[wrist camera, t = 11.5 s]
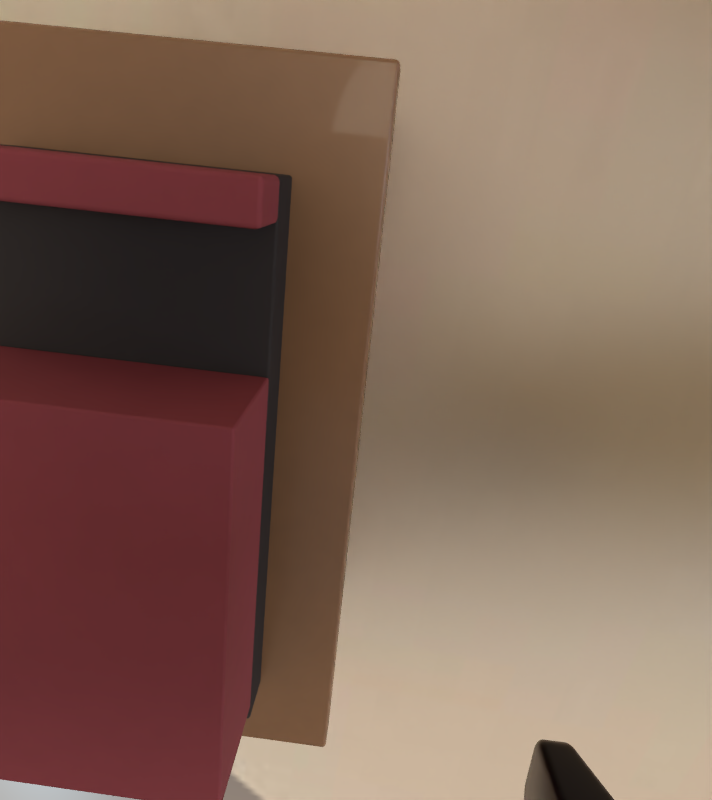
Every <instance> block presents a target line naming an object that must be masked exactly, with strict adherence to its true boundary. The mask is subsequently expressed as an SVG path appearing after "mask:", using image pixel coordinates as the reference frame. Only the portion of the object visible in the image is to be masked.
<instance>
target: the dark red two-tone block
mask: <svg viewBox="0 0 712 800" xmlns="http://www.w3.org/2000/svg"><path fill="white" fill-rule="evenodd" d="M291 189H292V177H291V176H290V175H285V174H276V173H266V172H257V171H248V170H238V169H229V168H220V167H211V166H201V165H192V164H183V163H173V162H164V161H155V160H146V159H136V158H127V157H118V156H108V155H99V154H90V153H81V152H71V151H62V150H53V149H43V148H34V147H25V146H16V145H3V144H0V779H2V780H9V781H16V782H23V783H30V784H37V785H44V786H51V787H58V788H64V789H71V790H78V791H85V792H93V793H99V794H106V795H113V796H120V797H127V798H134V799H141V800H223V797H224V793H225V790H226V786H227V783H228V779H229V777H230V773H231V770H232V766H233V763H234V760H235V756H236V753H237V749H238V746H239V743H240V739H241V736H242V732H243V729H244V726H245V722H246V719H247V718H249V717H250V716H251V712H252V709H253V705H254V702H255V698H256V695H257V691H258V688H259V684H260V679H261V663H262V647H263V632H264V616H265V600H266V584H267V568H268V553H269V537H270V521H271V505H272V489H273V473H274V458H275V442H276V426H277V410H278V394H279V379H280V363H281V347H282V331H283V315H284V299H285V284H286V268H287V252H288V236H289V220H290V204H291Z"/></svg>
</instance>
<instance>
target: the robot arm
mask: <svg viewBox="0 0 712 800" xmlns="http://www.w3.org/2000/svg"><path fill="white" fill-rule="evenodd" d="M524 800H614V799H613V798H612V796H611V795H610V794H609V793H608V791H607V790H606V789H605V787H604V786H603V785H602V784H601V782H600V781H599V780H598V779H597V777H596V776H595V775H594V773H593V772H592V771H591V770H590V768H589V767H588V766H587V765H586V763H585V762H584V761H583V759H582V758H581V757H580V756H579V754H578V753H577V752H576V751H575V749H574V748H573V747H572V746H571V745H569V744H568V743H564V742H557V741H550V740H539V741H538V742H537V744H536V745H535V748H534V752H533V756H532V760H531V764H530V768H529V772H528V776H527V780H526V784H525V793H524Z"/></svg>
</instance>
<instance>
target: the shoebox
mask: <svg viewBox="0 0 712 800" xmlns="http://www.w3.org/2000/svg"><path fill="white" fill-rule="evenodd" d="M399 77H400V64H399V61H398V60H395V59H385V58H375V57H365V56H355V55H344V54H334V53H324V52H314V51H304V50H294V49H284V48H274V47H263V46H253V45H243V44H233V43H223V42H213V41H203V40H193V39H183V38H172V37H162V36H152V35H142V34H132V33H122V32H112V31H102V30H91V29H81V28H71V27H61V26H51V25H41V24H31V23H21V22H10V21H0V144H3V145H16V146H25V147H34V148H43V149H53V150H62V151H71V152H81V153H90V154H99V155H108V156H118V157H127V158H136V159H146V160H155V161H164V162H173V163H183V164H192V165H201V166H211V167H220V168H229V169H238V170H248V171H257V172H266V173H276V174H285V175H290V176H291V177H292V189H291V204H290V220H289V236H288V252H287V268H286V284H285V299H284V315H283V331H282V347H281V363H280V379H279V394H278V410H277V426H276V442H275V458H274V473H273V489H272V505H271V521H270V537H269V553H268V568H267V584H266V600H265V616H264V632H263V647H262V663H261V679H260V684H259V688H258V691H257V695H256V698H255V702H254V705H253V709H252V712H251V716H250V717H249V718H247V719H246V722H245V726H244V729H243V732H242V736H248V737H256V738H263V739H270V740H277V741H284V742H292V743H299V744H306V745H313V746H320V747H323V746H325V744H326V737H327V730H328V723H329V714H330V705H331V696H332V687H333V678H334V669H335V659H336V650H337V641H338V632H339V623H340V614H341V605H342V596H343V587H344V578H345V568H346V559H347V550H348V541H349V532H350V523H351V514H352V505H353V496H354V487H355V477H356V468H357V459H358V450H359V441H360V432H361V423H362V414H363V405H364V395H365V386H366V377H367V368H368V359H369V350H370V341H371V332H372V323H373V314H374V304H375V295H376V286H377V277H378V268H379V259H380V250H381V241H382V232H383V223H384V213H385V204H386V195H387V186H388V177H389V168H390V159H391V150H392V141H393V131H394V122H395V113H396V104H397V95H398V86H399Z"/></svg>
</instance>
